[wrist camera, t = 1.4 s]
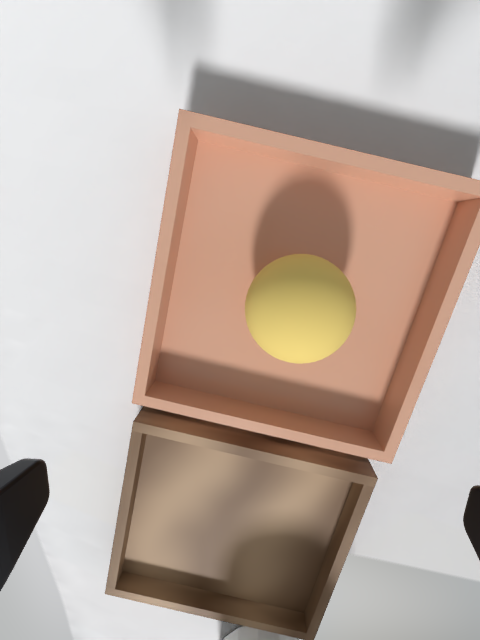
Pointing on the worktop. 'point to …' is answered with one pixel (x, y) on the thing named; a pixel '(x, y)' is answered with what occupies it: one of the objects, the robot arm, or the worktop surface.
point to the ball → (300, 308)
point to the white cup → (255, 635)
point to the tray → (234, 523)
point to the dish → (301, 238)
